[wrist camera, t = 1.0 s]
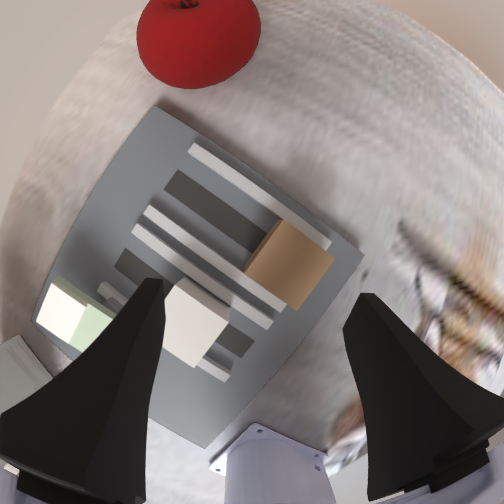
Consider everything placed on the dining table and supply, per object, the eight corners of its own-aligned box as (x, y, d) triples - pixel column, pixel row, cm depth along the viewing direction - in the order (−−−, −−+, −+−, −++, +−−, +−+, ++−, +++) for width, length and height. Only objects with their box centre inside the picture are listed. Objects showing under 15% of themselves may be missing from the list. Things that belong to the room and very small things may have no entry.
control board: (358, 254, 23) (374, 257, 20) (206, 441, 24) (202, 460, 21) (157, 110, 21) (147, 96, 18) (37, 317, 22) (19, 325, 19)
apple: (228, 119, 22) (220, 50, 12) (133, 89, 21) (84, 26, 11) (273, 39, 21) (287, -39, 11) (184, 15, 20) (165, -57, 10)
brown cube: (320, 253, 21) (335, 258, 18) (288, 298, 21) (296, 311, 18) (276, 220, 21) (283, 219, 17) (243, 266, 21) (243, 273, 18)
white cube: (230, 307, 21) (228, 322, 18) (200, 348, 21) (193, 368, 18) (185, 275, 21) (174, 284, 18) (157, 317, 21) (143, 332, 18)
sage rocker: (161, 340, 21) (160, 349, 19) (137, 375, 21) (136, 384, 19) (58, 275, 18) (52, 280, 16) (41, 316, 18) (35, 323, 17)
